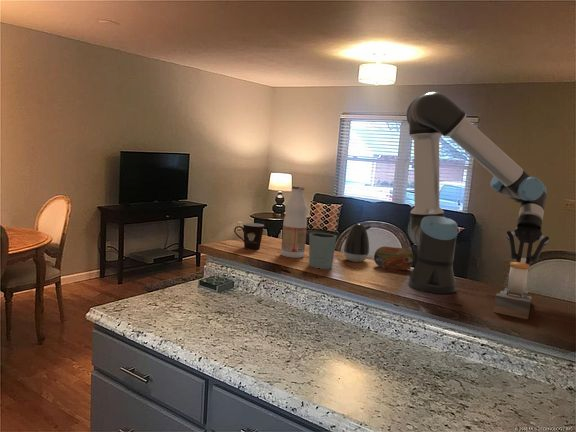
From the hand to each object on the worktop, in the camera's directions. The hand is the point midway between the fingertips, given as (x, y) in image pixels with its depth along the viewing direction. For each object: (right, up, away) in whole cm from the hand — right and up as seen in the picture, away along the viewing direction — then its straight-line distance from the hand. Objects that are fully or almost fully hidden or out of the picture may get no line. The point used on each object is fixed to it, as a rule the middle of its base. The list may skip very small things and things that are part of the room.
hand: (520, 276), depth 152 cm
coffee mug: (-90, +6, +50) cm, 103 cm away
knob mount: (-6, -8, -6) cm, 12 cm away
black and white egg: (-47, +1, +42) cm, 62 cm away
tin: (-33, -1, +33) cm, 47 cm away
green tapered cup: (-62, 0, +26) cm, 67 cm away
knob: (-3, -6, -2) cm, 7 cm away
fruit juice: (-72, +3, +41) cm, 83 cm away
